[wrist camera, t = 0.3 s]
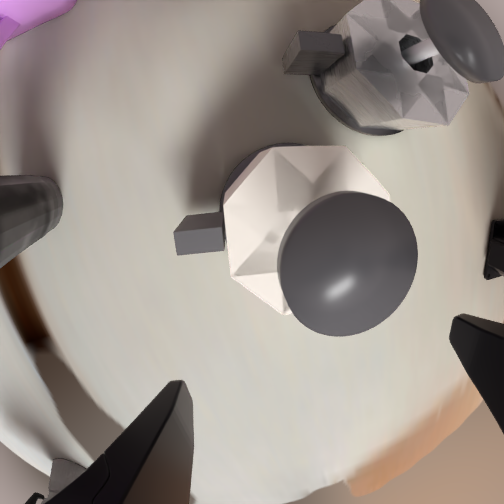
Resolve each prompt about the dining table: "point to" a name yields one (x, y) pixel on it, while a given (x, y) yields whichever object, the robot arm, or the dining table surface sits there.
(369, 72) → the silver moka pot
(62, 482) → the coffeepot
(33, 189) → the beverage cup
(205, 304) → the dining table surface
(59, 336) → the dining table surface
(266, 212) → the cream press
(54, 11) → the teakettle
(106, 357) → the dining table surface
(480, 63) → the steel plunger
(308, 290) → the cream plunger
